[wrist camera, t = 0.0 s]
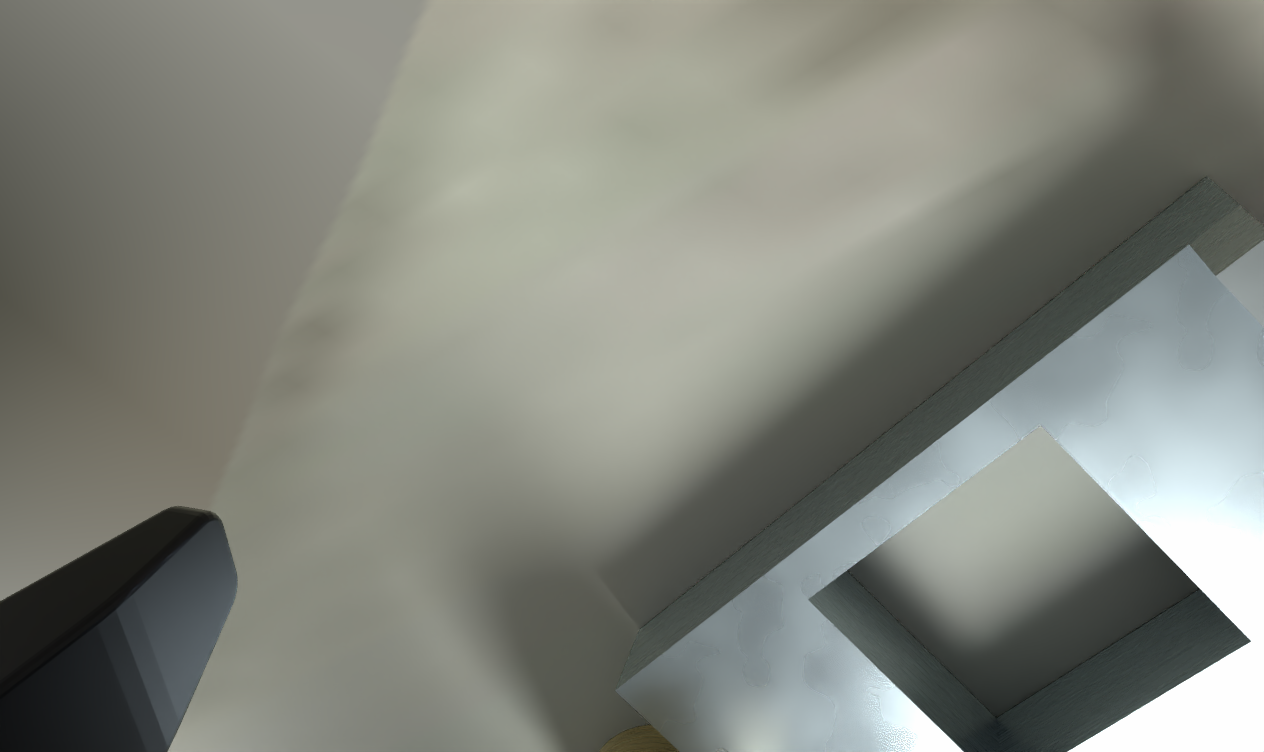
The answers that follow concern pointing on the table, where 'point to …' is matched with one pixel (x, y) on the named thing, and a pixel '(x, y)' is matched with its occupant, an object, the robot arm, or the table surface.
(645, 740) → the cylinder
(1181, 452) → the jig plate
